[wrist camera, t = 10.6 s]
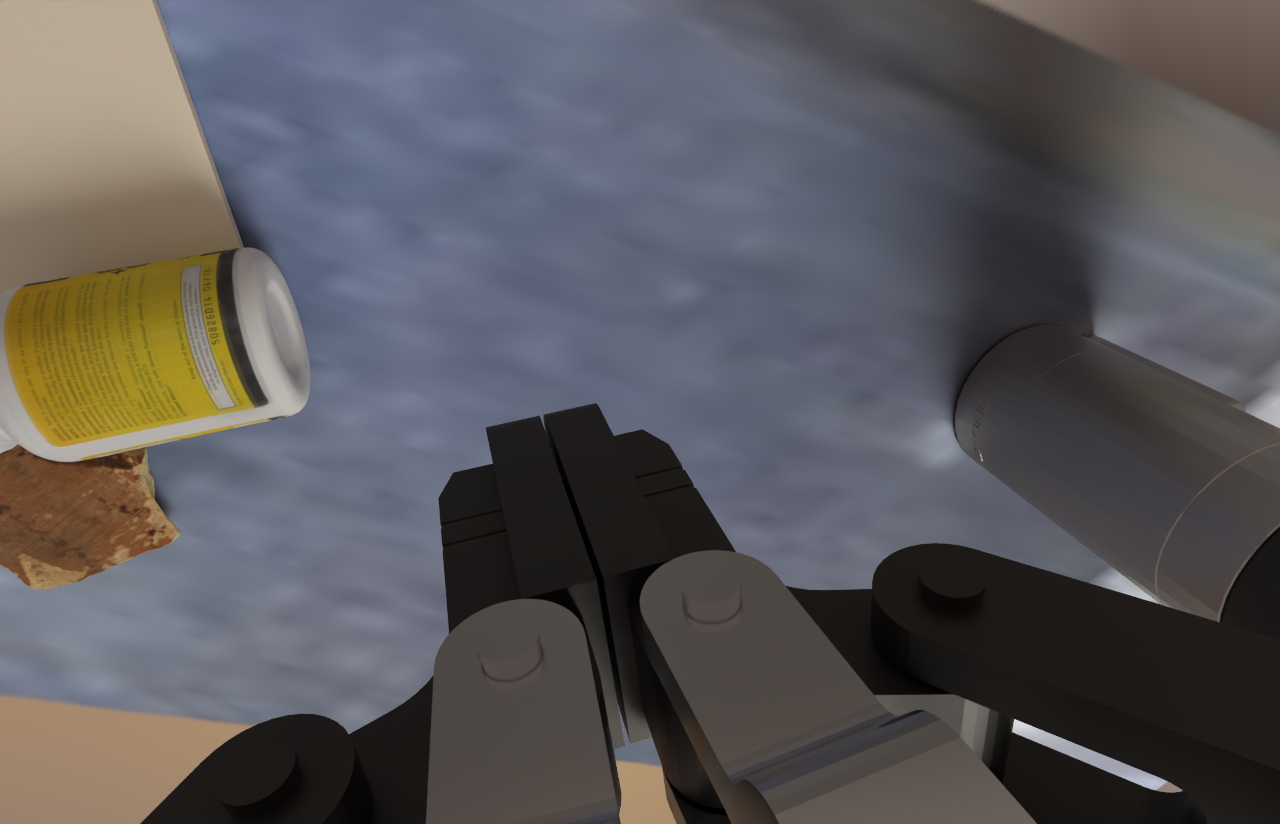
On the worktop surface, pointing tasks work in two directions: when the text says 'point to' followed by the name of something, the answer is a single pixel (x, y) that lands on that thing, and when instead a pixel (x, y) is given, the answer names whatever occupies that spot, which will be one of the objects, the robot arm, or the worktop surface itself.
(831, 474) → the worktop surface
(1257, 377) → the worktop surface
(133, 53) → the mat
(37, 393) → the pill bottle
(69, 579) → the shard
